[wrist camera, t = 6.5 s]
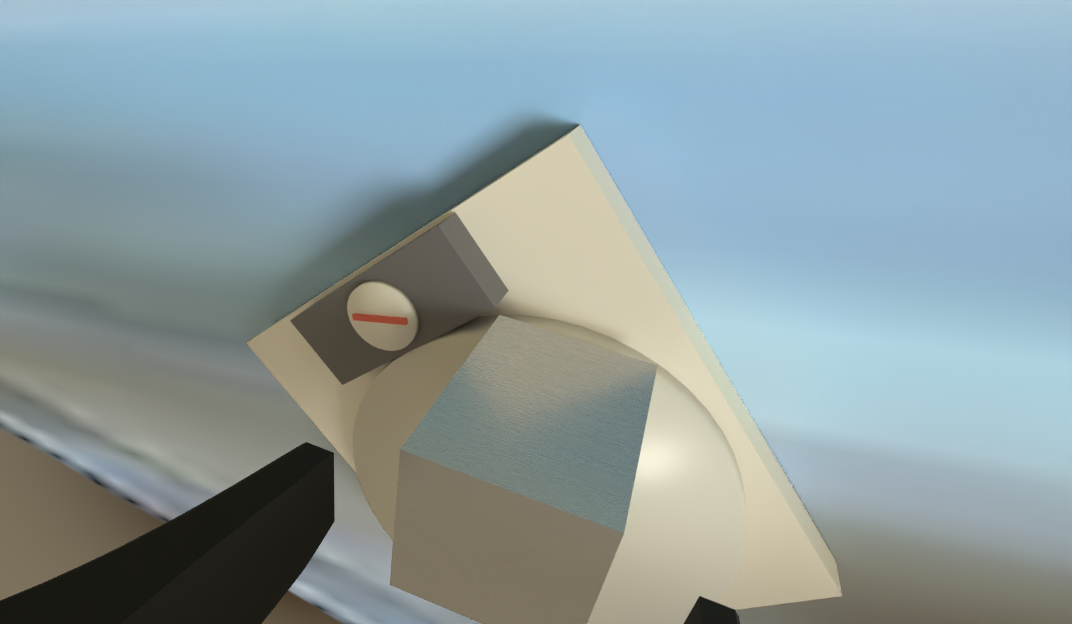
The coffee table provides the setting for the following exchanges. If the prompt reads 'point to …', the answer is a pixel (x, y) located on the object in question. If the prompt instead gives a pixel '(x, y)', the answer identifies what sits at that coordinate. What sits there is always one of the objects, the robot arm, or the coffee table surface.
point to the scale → (581, 313)
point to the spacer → (521, 478)
